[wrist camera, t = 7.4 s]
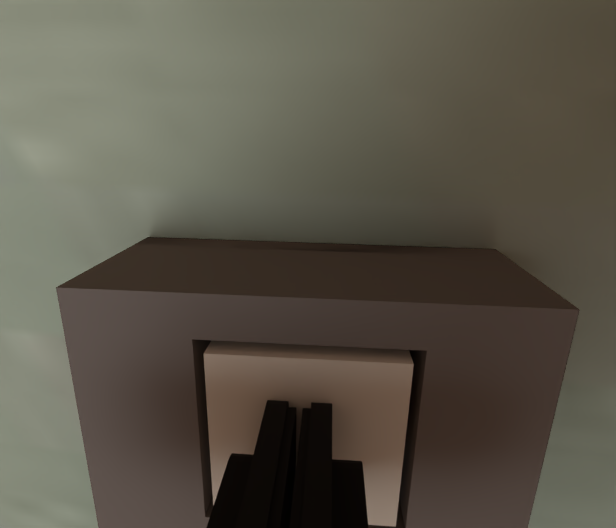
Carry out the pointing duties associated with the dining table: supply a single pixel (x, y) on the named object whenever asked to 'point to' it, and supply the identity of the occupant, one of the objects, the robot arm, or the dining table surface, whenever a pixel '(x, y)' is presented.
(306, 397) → the cream key
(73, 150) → the dining table surface
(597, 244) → the dining table surface
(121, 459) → the key panel
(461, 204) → the dining table surface
